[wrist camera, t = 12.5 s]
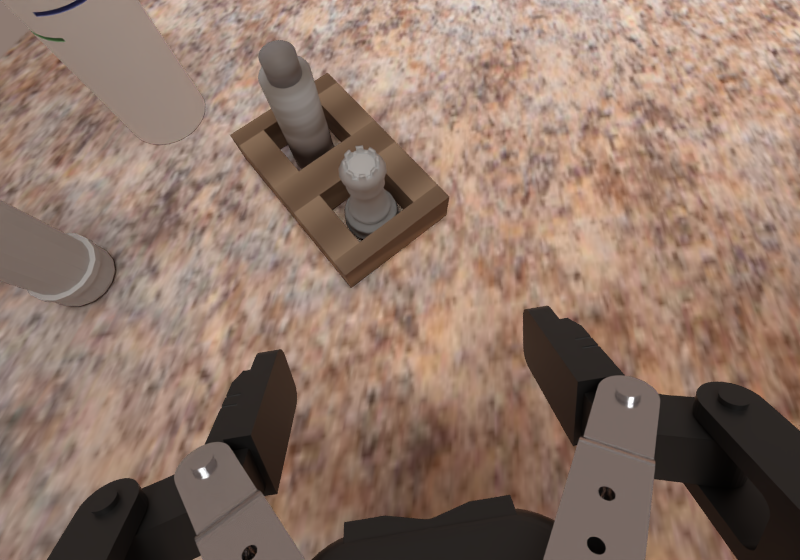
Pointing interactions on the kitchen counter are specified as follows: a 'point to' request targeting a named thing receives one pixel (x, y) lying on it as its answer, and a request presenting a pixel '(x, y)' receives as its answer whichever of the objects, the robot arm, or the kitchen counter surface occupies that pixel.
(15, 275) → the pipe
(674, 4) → the kitchen counter surface
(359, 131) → the holder
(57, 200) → the kitchen counter surface
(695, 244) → the kitchen counter surface
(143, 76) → the cylindrical container
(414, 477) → the kitchen counter surface
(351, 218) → the rook chess piece
